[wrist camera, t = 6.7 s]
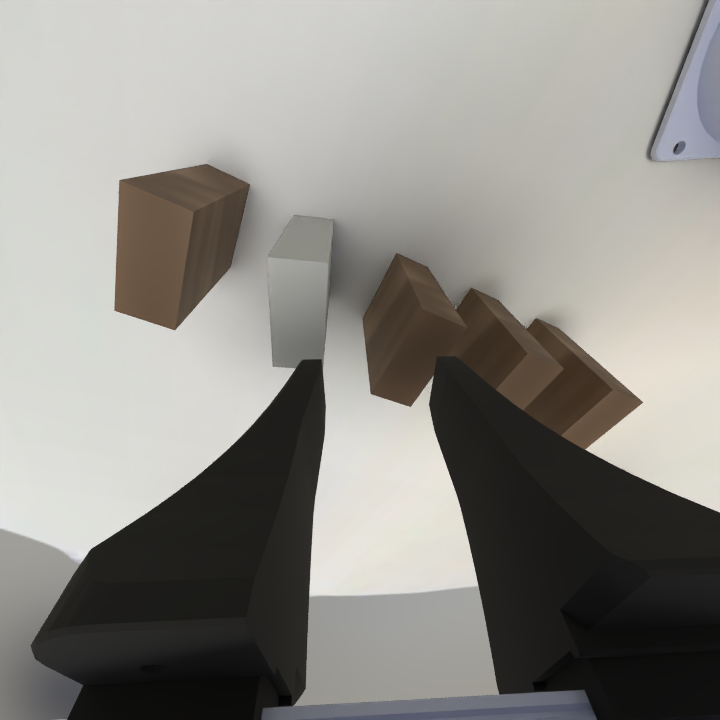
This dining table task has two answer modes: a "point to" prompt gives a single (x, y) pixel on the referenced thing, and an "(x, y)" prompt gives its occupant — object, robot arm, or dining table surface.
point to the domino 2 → (300, 290)
